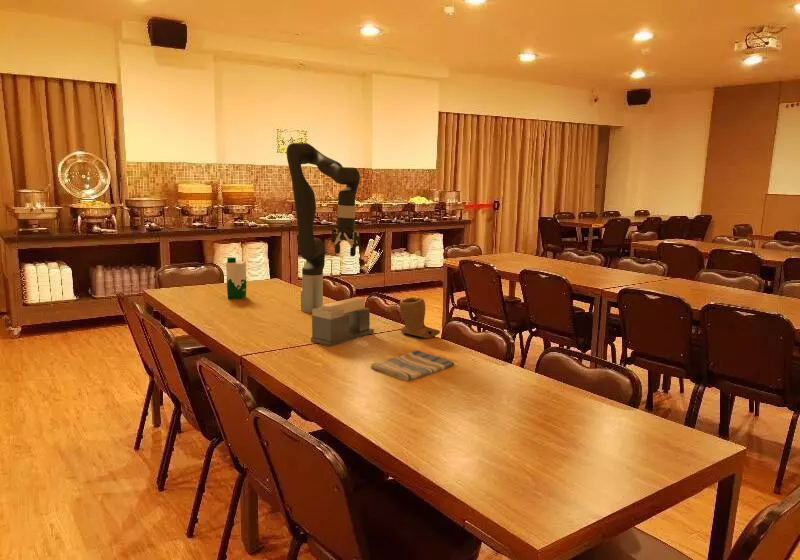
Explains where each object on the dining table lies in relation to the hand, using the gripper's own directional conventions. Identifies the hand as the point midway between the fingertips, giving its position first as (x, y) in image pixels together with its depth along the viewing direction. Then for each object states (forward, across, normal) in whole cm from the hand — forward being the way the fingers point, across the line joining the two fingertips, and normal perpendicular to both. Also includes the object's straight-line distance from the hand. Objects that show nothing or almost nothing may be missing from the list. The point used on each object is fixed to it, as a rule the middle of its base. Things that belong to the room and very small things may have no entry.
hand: (345, 254), depth 255 cm
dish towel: (+28, +60, -29) cm, 72 cm away
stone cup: (+28, +37, +3) cm, 46 cm away
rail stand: (+28, +17, -18) cm, 38 cm away
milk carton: (+31, -71, -1) cm, 78 cm away
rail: (+18, +17, -18) cm, 31 cm away
